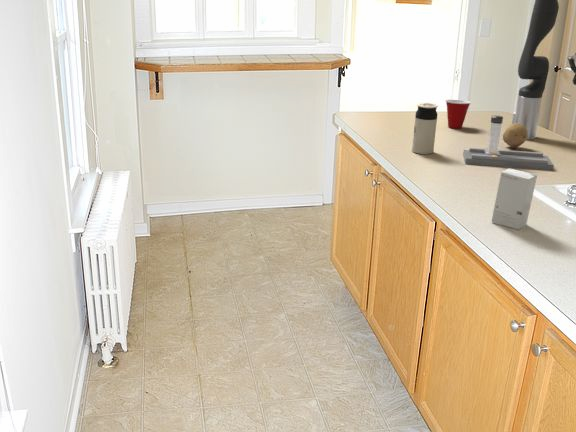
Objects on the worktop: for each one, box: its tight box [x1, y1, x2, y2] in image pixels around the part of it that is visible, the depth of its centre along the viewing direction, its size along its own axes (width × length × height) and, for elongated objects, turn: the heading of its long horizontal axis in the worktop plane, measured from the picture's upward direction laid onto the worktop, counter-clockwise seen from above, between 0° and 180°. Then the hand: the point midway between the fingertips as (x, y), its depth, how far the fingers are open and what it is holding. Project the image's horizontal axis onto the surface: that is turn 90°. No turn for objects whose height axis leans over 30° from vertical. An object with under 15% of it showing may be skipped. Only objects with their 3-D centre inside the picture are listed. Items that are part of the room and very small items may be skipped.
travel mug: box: [411, 102, 439, 155], centre depth 248 cm, size 8×8×18 cm
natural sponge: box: [502, 123, 528, 149], centre depth 258 cm, size 9×9×10 cm
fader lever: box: [483, 115, 504, 156], centre depth 238 cm, size 5×6×14 cm
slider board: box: [462, 147, 554, 171], centre depth 240 cm, size 30×12×3 cm, turn 80°
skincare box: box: [491, 167, 538, 230], centre depth 181 cm, size 8×6×15 cm
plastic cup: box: [444, 99, 472, 130], centre depth 288 cm, size 11×11×12 cm
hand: (575, 84), depth 241 cm, fingers closed
